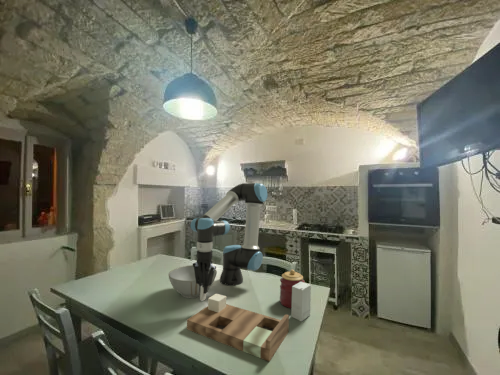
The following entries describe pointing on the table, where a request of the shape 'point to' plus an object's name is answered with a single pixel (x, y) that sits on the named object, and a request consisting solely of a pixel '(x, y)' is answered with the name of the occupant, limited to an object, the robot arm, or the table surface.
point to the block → (217, 302)
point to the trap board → (241, 330)
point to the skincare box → (301, 301)
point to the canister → (288, 287)
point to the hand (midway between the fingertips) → (203, 299)
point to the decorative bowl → (186, 281)
